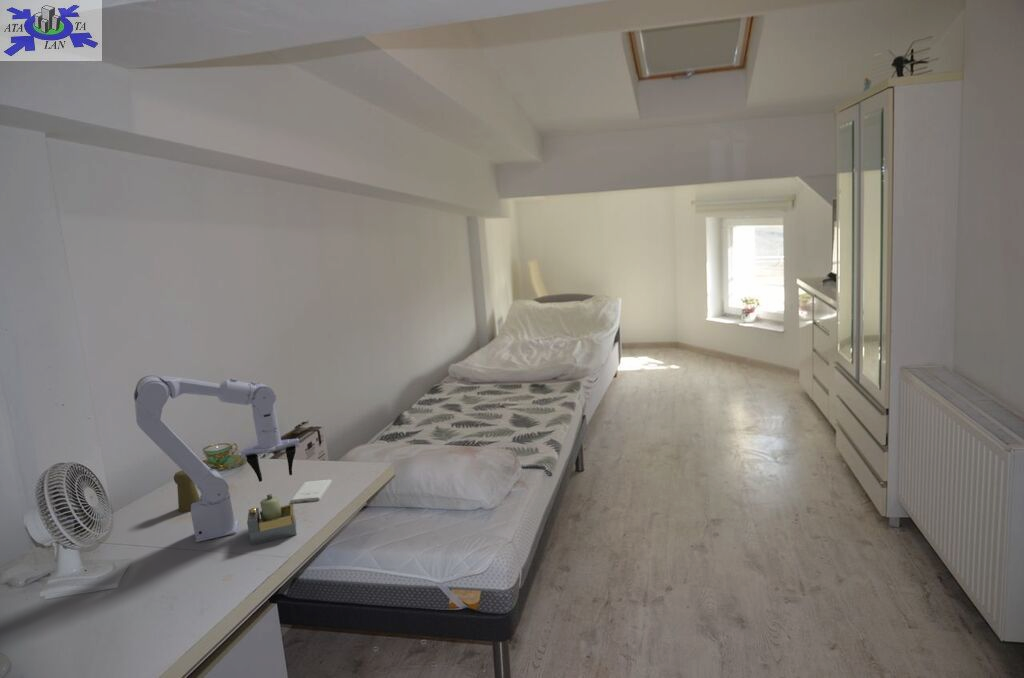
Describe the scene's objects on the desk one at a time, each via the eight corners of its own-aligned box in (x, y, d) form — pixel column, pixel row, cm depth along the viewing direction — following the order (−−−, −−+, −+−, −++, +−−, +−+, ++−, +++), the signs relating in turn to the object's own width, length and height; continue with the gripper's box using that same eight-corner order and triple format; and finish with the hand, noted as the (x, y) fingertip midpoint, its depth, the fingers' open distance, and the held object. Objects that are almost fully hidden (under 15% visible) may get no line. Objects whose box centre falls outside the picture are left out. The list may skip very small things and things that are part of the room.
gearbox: (251, 545, 159) (246, 519, 157) (253, 531, 166) (248, 506, 165) (296, 534, 162) (291, 509, 161) (295, 521, 169) (291, 497, 168)
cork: (206, 502, 189) (199, 466, 187) (194, 511, 183) (186, 474, 181) (186, 503, 189) (179, 467, 187) (174, 512, 183) (166, 476, 181)
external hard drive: (332, 484, 194) (320, 502, 182) (305, 486, 194) (291, 505, 182) (331, 479, 194) (319, 496, 181) (304, 481, 194) (290, 499, 182)
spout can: (263, 526, 161) (258, 502, 160) (264, 519, 165) (260, 495, 164) (281, 522, 162) (277, 498, 161) (282, 515, 166) (278, 491, 165)
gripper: (236, 438, 166) (246, 488, 169) (296, 427, 171) (304, 476, 173) (238, 431, 173) (247, 479, 176) (295, 420, 177) (303, 467, 180)
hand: (275, 477), depth 175 cm, fingers open, 7 cm apart
